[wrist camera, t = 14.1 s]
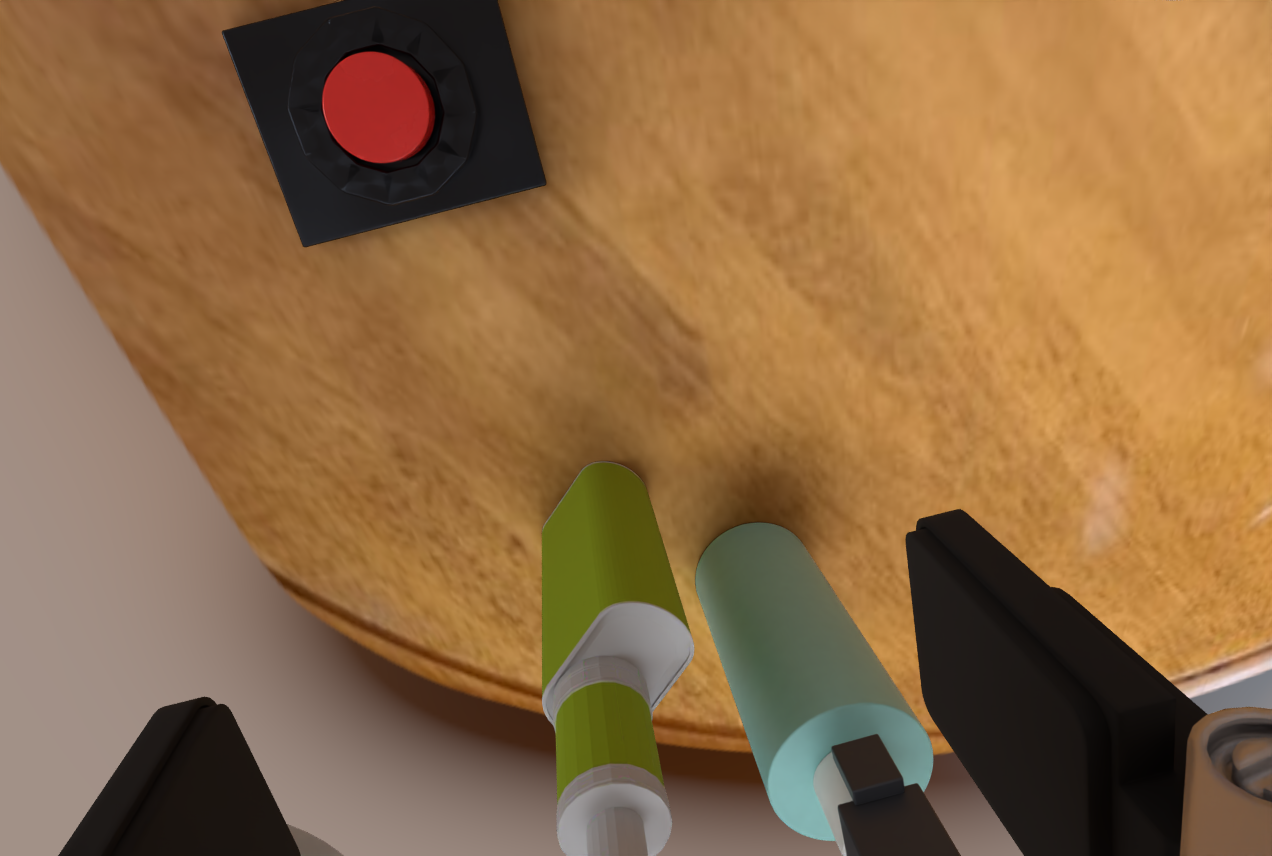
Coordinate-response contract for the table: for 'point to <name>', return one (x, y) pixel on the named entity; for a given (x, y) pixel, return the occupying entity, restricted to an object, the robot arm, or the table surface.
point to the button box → (458, 81)
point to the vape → (609, 661)
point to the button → (378, 107)
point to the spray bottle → (817, 700)
